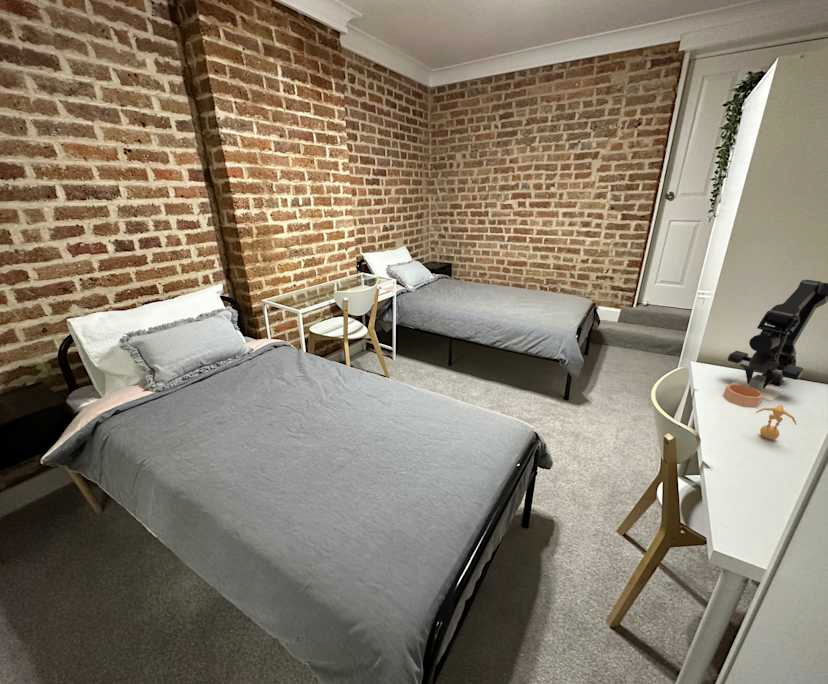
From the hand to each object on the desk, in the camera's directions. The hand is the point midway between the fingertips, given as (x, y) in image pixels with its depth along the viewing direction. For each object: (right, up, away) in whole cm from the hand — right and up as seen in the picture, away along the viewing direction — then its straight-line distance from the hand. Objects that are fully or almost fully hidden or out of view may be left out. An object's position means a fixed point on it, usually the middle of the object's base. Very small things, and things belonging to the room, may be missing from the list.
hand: (755, 385), depth 130 cm
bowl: (-10, -4, -6) cm, 13 cm away
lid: (0, -1, +1) cm, 1 cm away
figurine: (-20, -13, -25) cm, 34 cm away
